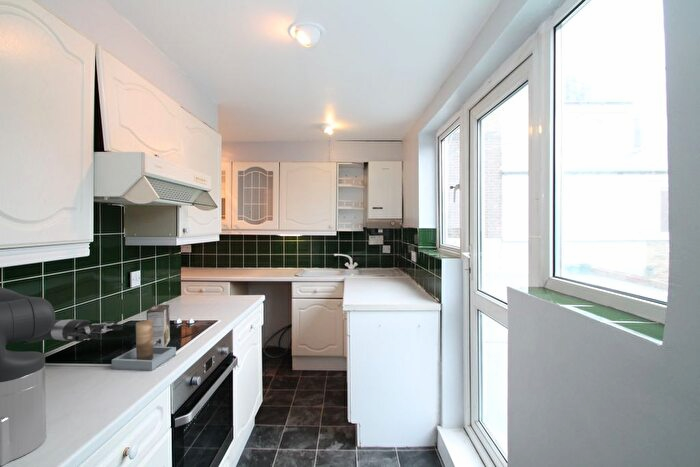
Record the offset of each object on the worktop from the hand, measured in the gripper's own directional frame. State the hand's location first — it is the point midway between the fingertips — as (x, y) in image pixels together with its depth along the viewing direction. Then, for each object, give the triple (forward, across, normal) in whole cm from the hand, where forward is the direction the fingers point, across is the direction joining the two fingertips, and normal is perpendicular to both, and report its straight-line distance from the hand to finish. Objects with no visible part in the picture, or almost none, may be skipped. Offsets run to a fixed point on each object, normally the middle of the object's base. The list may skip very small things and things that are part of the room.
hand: (112, 331), depth 106 cm
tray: (+13, 0, +11) cm, 17 cm away
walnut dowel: (+13, 0, +10) cm, 16 cm away
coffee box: (+7, +14, +11) cm, 19 cm away
